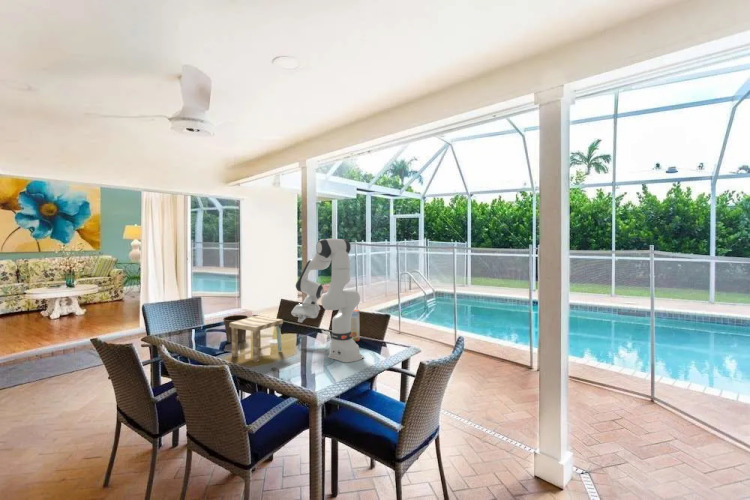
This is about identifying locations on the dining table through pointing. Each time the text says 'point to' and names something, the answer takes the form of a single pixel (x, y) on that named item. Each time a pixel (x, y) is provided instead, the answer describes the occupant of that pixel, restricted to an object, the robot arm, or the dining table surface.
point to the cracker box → (355, 325)
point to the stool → (255, 326)
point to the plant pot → (229, 330)
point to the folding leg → (279, 338)
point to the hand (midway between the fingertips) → (299, 321)
